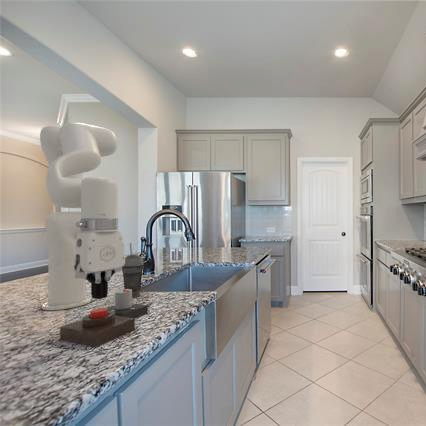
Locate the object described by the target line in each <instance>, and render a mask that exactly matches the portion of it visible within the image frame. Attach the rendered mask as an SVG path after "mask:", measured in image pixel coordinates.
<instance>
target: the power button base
mask: <svg viewBox="0 0 426 426" xmlns="http://www.w3.org/2000/svg"><path fill="white" fill-rule="evenodd" d="M135 324H136V318H129V317H123V316H116V315H115V312H113V311H108V315H107V316H105V317H100V318H90V313H88V314H86V315H84V316H82V318H81V319H80V320H77V321H74V322H72V323H68V324H65V325H62V326H59V340H60V341H63V342H64V341H65V342H68V343H74V344H79V345H85V346H89V347H95V348H96V347H99V346H100V345H103V344H106V343H107V342H110V341H111V340H115V339H117V338H119V337H121V336H125V335H126V334H129V333H131V332H134V331H135V330H136V325H135Z"/></svg>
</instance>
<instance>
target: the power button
mask: <svg viewBox="0 0 426 426" xmlns="http://www.w3.org/2000/svg"><path fill="white" fill-rule="evenodd" d="M89 314H90V318H100V317H105V316H107V315H108V308H107V307H97V308H94V309H92V310H90V311H89Z"/></svg>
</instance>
